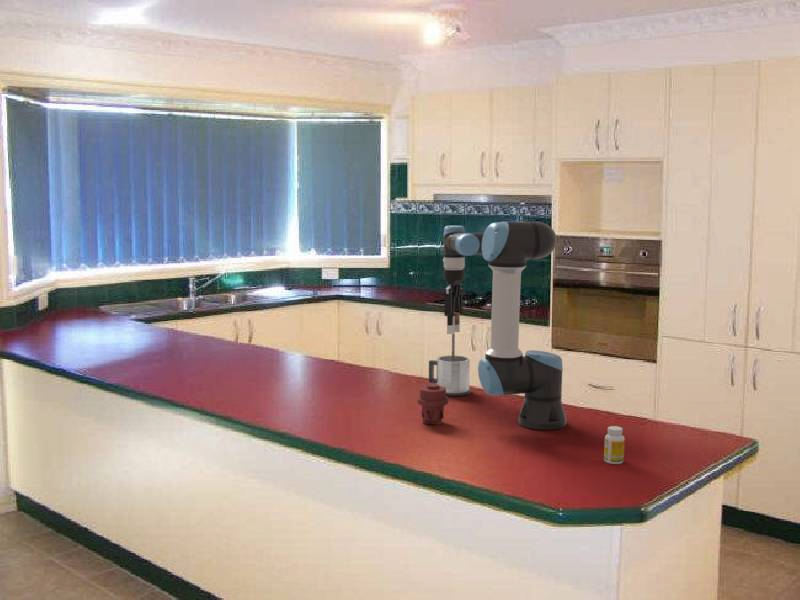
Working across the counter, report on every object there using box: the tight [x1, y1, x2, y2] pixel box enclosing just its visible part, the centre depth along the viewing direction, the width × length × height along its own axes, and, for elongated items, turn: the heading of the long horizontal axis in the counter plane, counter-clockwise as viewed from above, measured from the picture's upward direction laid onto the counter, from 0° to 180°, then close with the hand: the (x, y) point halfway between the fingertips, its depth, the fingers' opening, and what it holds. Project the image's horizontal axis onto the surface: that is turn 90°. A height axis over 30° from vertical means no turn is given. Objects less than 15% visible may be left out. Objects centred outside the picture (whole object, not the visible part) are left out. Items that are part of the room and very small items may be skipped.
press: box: [428, 355, 472, 398], centre depth 326 cm, size 16×13×12 cm
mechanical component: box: [416, 383, 450, 425], centre depth 286 cm, size 12×10×10 cm
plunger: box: [451, 312, 461, 362], centre depth 324 cm, size 8×8×21 cm
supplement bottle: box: [603, 425, 626, 465], centre depth 248 cm, size 5×5×10 cm
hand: (453, 332), depth 324 cm, fingers closed on plunger, 4 cm apart
